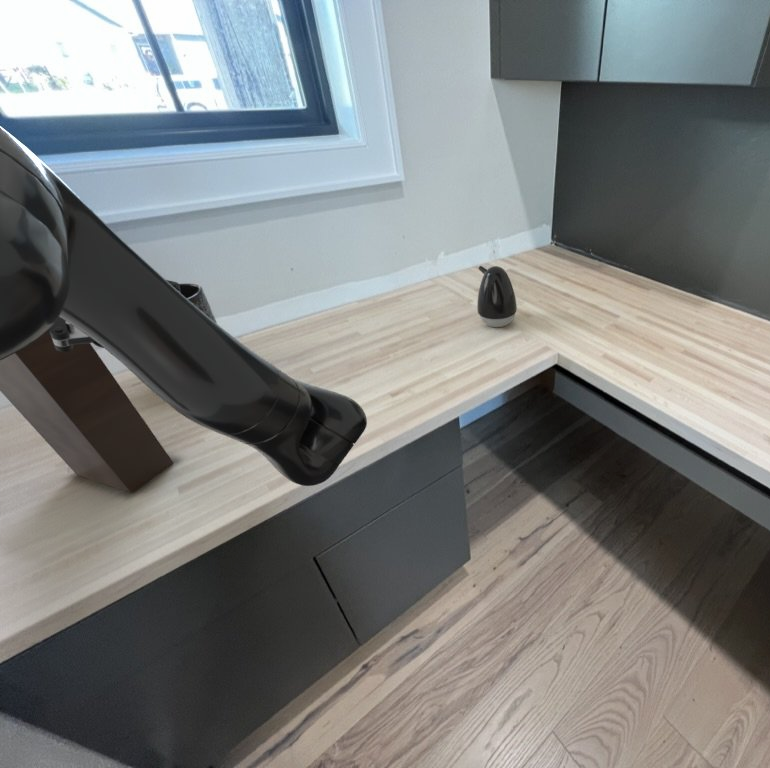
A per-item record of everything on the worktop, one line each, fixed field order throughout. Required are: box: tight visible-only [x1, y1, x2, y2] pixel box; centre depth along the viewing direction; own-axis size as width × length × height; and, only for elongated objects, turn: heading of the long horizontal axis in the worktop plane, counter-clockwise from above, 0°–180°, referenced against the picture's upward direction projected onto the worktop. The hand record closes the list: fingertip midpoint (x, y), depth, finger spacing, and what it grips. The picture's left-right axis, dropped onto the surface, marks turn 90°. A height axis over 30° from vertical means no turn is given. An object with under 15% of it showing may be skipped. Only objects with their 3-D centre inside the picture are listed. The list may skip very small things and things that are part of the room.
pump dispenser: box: [476, 265, 518, 328], centre depth 106 cm, size 10×10×15 cm
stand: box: [0, 329, 174, 494], centre depth 61 cm, size 14×9×30 cm, turn 72°
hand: (47, 266), depth 44 cm, fingers closed
